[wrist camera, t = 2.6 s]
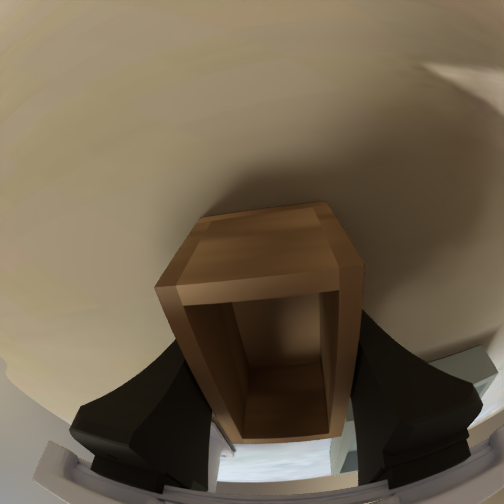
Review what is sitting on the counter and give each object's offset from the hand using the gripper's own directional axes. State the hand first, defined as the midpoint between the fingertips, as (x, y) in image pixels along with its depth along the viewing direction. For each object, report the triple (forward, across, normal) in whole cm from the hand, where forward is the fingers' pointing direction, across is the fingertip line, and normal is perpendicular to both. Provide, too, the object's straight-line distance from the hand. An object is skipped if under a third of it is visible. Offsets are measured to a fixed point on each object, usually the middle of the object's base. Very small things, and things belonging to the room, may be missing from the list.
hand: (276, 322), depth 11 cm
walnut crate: (+1, 0, 0) cm, 1 cm away
